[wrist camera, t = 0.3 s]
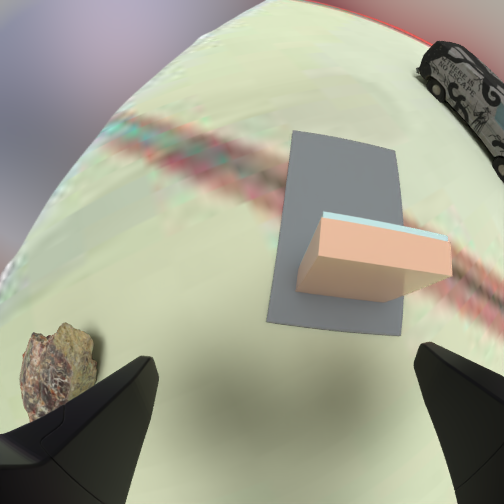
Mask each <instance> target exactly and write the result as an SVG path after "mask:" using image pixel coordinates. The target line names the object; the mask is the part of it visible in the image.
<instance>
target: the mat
mask: <svg viewBox="0 0 504 504" xmlns="http://www.w3.org/2000/svg"><path fill="white" fill-rule="evenodd" d="M323 211H324V212H330V213H336V214H342V215H348V216H353V217H359V218H364V219H370V220H375V221H380V222H385V223H390V224H395V225H400V226H403V213H402V201H401V191H400V182H399V174H398V167H397V160H396V154H395V151H394V150H390V149H386V148H382V147H378V146H374V145H370V144H366V143H361V142H357V141H352V140H347V139H342V138H337V137H332V136H326V135H321V134H314V133H308V132H301V131H294V130H293V134H292V142H291V151H290V159H289V167H288V175H287V183H286V191H285V199H284V206H283V214H282V221H281V228H280V235H279V242H278V249H277V256H276V263H275V270H274V276H273V283H272V289H271V296H270V302H269V308H268V314H267V321H266V322H271V323H277V324H284V325H292V326H299V327H307V328H315V329H324V330H333V331H343V332H354V333H365V334H378V335H393V336H401V328H402V316H403V300H404V296H401V297H398V298H396V299H393V300H390V301H387V302H384V303H382V302H373V301H365V300H356V299H348V298H340V297H332V296H324V295H317V294H309V293H302V292H295V290H296V283H297V275H298V268H299V266H300V263H301V261H302V259H303V256H304V254H305V252H306V250H307V248H308V245H309V243H310V241H311V239H312V236H313V234H314V232H315V230H316V227H317V225H318V223H319V221H320V218H321V216H322V214H323Z"/></svg>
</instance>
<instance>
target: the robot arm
mask: <svg viewBox="0 0 504 504" xmlns="http://www.w3.org/2000/svg"><path fill="white" fill-rule="evenodd" d="M414 370H415V373H416V376H417V379H418V382H419V386H420V389H421V392H422V396H423V399H424V402H425V405H426V407H427V410H428V412H429V415H430V417H431V420H432V423H433V425H434V428H435V431H436V433H437V436H438V439H439V442H440V445H441V447H442V450H443V453H444V456H445V460H446V463H447V466H448V469H449V472H450V476H451V479H452V483H453V487H454V490H455V495H456V499H457V503H458V504H504V377H503V376H502V375H500V374H498V373H495V372H493V371H491V370H489V369H487V368H485V367H483V366H481V365H479V364H477V363H474V362H472V361H470V360H468V359H466V358H464V357H462V356H460V355H458V354H456V353H453V352H451V351H449V350H447V349H445V348H443V347H441V346H439V345H437V344H435V343H433V342H426V343H422V344H421V345H420V346H419V348H418V351H417V354H416V357H415V360H414ZM158 382H159V375H158V372H157V369H156V365H155V362H154V359H153V358H152V357H150V356H139V357H138V358H136V359H134V360H133V361H131V362H130V363H128V364H127V365H125V366H124V367H122V368H121V369H119V370H117V371H116V372H114V373H113V374H111V375H110V376H108V377H106V378H105V379H103V380H102V381H100V382H99V383H97V384H95V385H94V386H92V387H91V388H89V389H87V390H86V391H84V392H83V393H81V394H79V395H78V396H76V397H75V398H73V399H71V400H70V401H68V402H66V403H65V405H64V404H63V405H61V406H60V407H58V408H56V409H55V410H53V411H51V412H49V413H48V414H46V415H44V416H42V417H40V418H38V419H36V420H34V421H32V422H30V423H28V424H25V425H23V426H21V427H19V428H17V429H14V430H12V431H10V432H7V433H4V434H0V504H125V503H126V499H127V495H128V492H129V488H130V485H131V481H132V478H133V475H134V471H135V468H136V464H137V461H138V458H139V455H140V451H141V448H142V445H143V442H144V439H145V436H146V432H147V429H148V426H149V423H150V420H151V416H152V411H153V406H154V401H155V396H156V391H157V387H158Z"/></svg>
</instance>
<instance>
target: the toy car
mask: <svg viewBox="0 0 504 504" xmlns="http://www.w3.org/2000/svg"><path fill="white" fill-rule="evenodd" d="M416 70H417V73H418V74H419V72H420V75H421V76H422V77H423V78H424V79H429V80H430V81H429V82H428V84H427V89H428V90H429V92H430V93H431V94H432V95H433V96H434V97H435V98H436V99H437V100H438V101H439V102H444V101H445V99H446V101H447V102H448V103H449V104H450V105H451V106H452V107H453V108H454V109H455V110H456V111H457V112H458V113H459V114H460V115H461V117H462V118H463V119H464V120H465V121H466V122H467V123H468V124H469V126H470V127H471V128H472V129H473V130H474V132H475V133H476V134H477V135H478V136H479V138H480V139H481V140H482V141H483V143H484V144H485V145H486V147H487V148H488V149H489V151H490V152H491V153H492V155H493V156H494V157H496V156H499V157H497V158H495V160H494V161H493V168H494V170H495V171H496V173H497V175H498V177H499V178H500V179H501V180H502V182H503V183H504V83H503V82H502V81H501V80H500V79H499V78H498V77H497V76H496V75H495V74H494V73H493V72H492V71H491V70H490V69H489V68H488V67H487V66H486V65H485V64H484V63H482V62H481V61H480V60H479V59H478V58H477V57H475V56H474V55H473V54H472V53H471V52H469V51H468V50H467V49H466V48H464V47H463V46H461V45H459V44H456V43H452V42H445V41H437V42H436V43H435V44H433V45H432V46H431V47H430V49H429V50H428V51H427V52H426V53H425V54H424V56H423V58H422V61H421V64H420V67H419V68H416Z"/></svg>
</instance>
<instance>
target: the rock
mask: <svg viewBox="0 0 504 504" xmlns="http://www.w3.org/2000/svg"><path fill="white" fill-rule="evenodd" d="M93 346H94V344H93V340H92V339H91V337H90V335H88V334H87V333H85V332H84V331H80V330H78V329H75V328H73V327H72V326H71V325H69V324H67V323H63V324H62V325H61V326H60V327H59V329H58V330H57V333H55V334H54V335H52V336H51V335H48V336H47V337H45V336H43V335H42V334H37V333H34V332H33V333H32V336H31V338H30V340H29V342H28V346H27V349H26V351H25V353H24V354H23V362H22V367H21V372H20V388H21V394H22V399H23V405H24V408H25V410H26V411H27V413H28V416H29V419H30V422H32V421H34V420H36V419H38V418H40V417H42V416H44V415H46V414H48V413H49V412H51V411H53V410H55V409H56V408H58V407H60V406H61V405H63V404H64V405H65V403H66V402H68V401H70V400H71V399H73V398H75V397H76V396H78V395H79V394H81V393H83V392H84V391H86V390H87V389H89V388H91V387H92V386H94V383H95V381H96V374H97V369H96V366H97V362H96V361H95V360H93V359H92V351H93Z"/></svg>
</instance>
